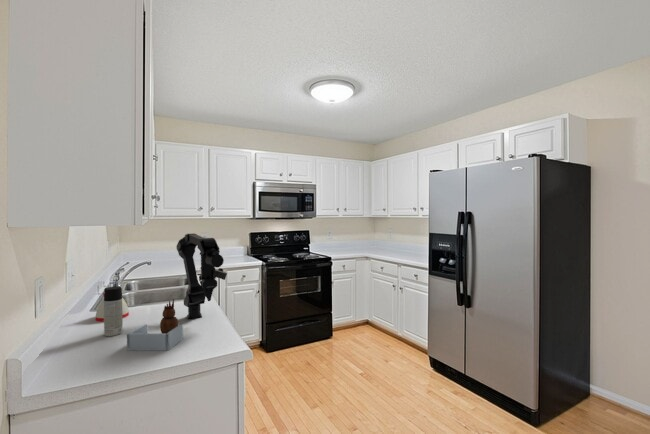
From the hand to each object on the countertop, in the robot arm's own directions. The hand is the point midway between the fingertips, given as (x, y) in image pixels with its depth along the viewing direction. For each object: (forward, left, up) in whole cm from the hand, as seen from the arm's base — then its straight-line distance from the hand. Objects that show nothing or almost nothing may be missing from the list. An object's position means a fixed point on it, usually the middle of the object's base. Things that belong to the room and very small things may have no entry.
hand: (208, 298), depth 149 cm
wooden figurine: (+6, -16, -12) cm, 21 cm away
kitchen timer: (-35, -42, -12) cm, 56 cm away
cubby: (+14, -21, -12) cm, 28 cm away
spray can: (-7, -38, -12) cm, 41 cm away
